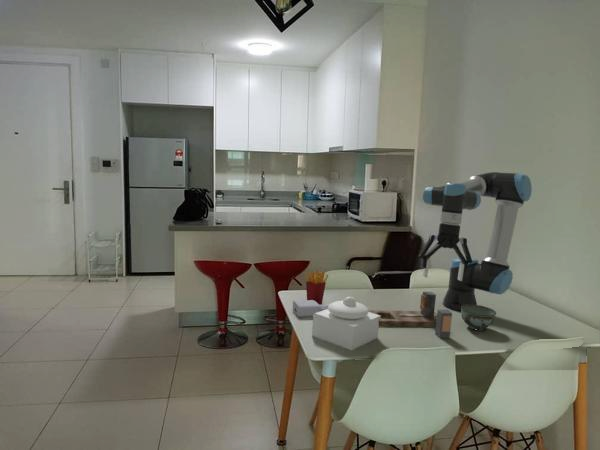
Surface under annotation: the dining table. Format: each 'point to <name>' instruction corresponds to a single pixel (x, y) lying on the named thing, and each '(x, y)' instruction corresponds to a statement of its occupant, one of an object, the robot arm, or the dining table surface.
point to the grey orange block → (443, 323)
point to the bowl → (477, 316)
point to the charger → (307, 308)
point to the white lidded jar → (346, 324)
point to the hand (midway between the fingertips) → (442, 278)
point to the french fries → (316, 286)
